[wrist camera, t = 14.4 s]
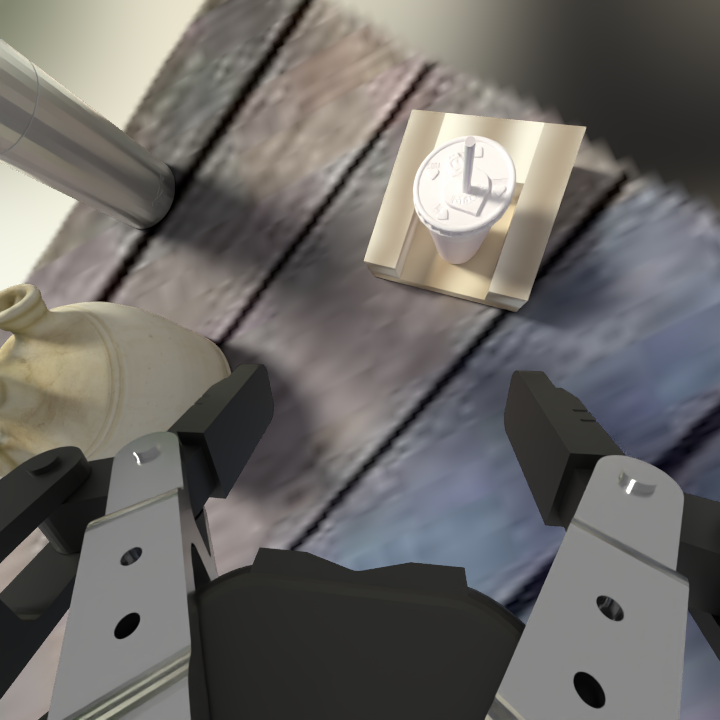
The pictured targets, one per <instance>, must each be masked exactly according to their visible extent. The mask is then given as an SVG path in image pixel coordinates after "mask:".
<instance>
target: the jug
mask: <svg viewBox="0 0 720 720" xmlns="http://www.w3.org/2000/svg"><path fill="white" fill-rule="evenodd" d="M0 329H2V330H5V331H10V332H12V333H13V335H12V336H11V337H10V338H9V339H8V340H7V341H6V342H5V343H4V345H3V346H2V347H1V348H0V476H1V477H4V476H6V475H7V474H8V473H10V472H11V471H12V470H14V469H15V468H16V467H18V466H19V465H21V464H22V463H23V462H25V461H27V460H28V459H30V458H32V457H34V456H36V455H38V454H40V453H43V452H45V451H48V450H51V449H55V448H59V447H65V446H75V447H78V448H80V449H81V451H82V452H83V454H84V456H85V457H86V459H87V461H93V460H99V459H105V458H110V457H115V456H116V454H117V453H118V452H119V451H120V450H121V449H122V448H123V447H124V446H125V445H127V444H128V443H130V442H131V441H133V440H135V439H137V438H139V437H141V436H144V435H147V434H150V433H154V432H162V431H163V432H166V431H167V430H168V429H169V428H170V427H171V426H172V425H173V424H174V423H175V422H176V421H177V420H178V419H179V418H180V417H181V416H182V415H183V414H184V413H185V412H186V411H187V410H188V409H189V408H190V407H191V406H192V405H194V403H195V402H196V401H197V400H198V399H199V398H200V397H202V395H203V394H204V393H205V392H206V391H207V390H208V389H209V388H210V387H211V386H212V385H214V384H215V383H217V382H219V381H221V380H222V379H224V378H228V376H229V375H230V374H231V370H230V367H229V364H228V361H227V359H226V357H225V355H224V354H223V352H222V351H221V349H220V348H219V347H218V346H217V345H216V344H215V343H213V342H212V341H211V340H209V339H207V338H206V337H203V336H202V335H200V334H198V333H196V332H194V331H192V330H189V329H187V328H184V327H182V326H180V325H178V324H176V323H174V322H172V321H170V320H168V319H165V318H163V317H161V316H159V315H156V314H154V313H151V312H148V311H145V310H142V309H139V308H136V307H131V306H126V305H121V304H115V303H108V302H84V303H76V304H70V305H66V306H60V307H56V308H53V309H51V310H48V309H47V307H46V305H45V302H44V301H43V300H42V297H41V292H40V290H39V289H38V288H37V287H36V286H34V285H30V284H20V285H16V286H12V287H9V288H7V289H4V290H2V291H0Z"/></svg>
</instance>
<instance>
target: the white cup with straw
mask: <svg viewBox="0 0 720 720" xmlns="http://www.w3.org/2000/svg"><path fill="white" fill-rule="evenodd" d="M515 185H516V169H515V165H514V162H513V160H512V158H511V156H510V154H509V153H508V152H507V150H506V149H505V148H504V147H503V146H502V145H500V144H499V143H497V142H496V141H494V140H491V139H489V138H486V137H481V136H463V137H458V138H455V139H452V140H449V141H447V142H445V143H443V144H441V145H440V146H438V147H437V148H436V149H434V150H433V151H432V152H431V153H430V154H429V155H428V156H427V157H426V158H425V159H424V161H423V162H422V164H421V165H420V167H419V169H418V171H417V173H416V176H415V180H414V185H413V196H414V198H413V201H414V206H415V210H416V213H417V215H418V217H419V218H420V220H421V222H422V223H423V224H424V225H425V226H426V227H427V228H428V229H429V231H430V234H431V236H432V238H433V241H434V243H435V245H436V247H437V250H438V252H439V254H440V256H441V257H442V259H444V260H445V261H446V262H448V263H451V264H462V263H465V262H467V261H469V260H470V259H472V258H473V257H474V256H475V254H476V253H477V251H478V249H479V248H480V246H481V244H482V242H483V241H484V239H485V237H486V236H487V234H488V232H489V231H490V229H491V227H492V226H493V225H494V224H495V223H496V222H497V221H498V220H499V219H500V218H501V217H502V216H503V215H504V213H505V212H506V210H507V209H508V207H509V206H510V203H511V200H512V197H513V194H514V189H515Z"/></svg>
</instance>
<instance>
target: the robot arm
mask: <svg viewBox="0 0 720 720" xmlns="http://www.w3.org/2000/svg"><path fill="white" fill-rule="evenodd" d="M0 163H2V164H4V165H6V166H8V167H10V168H12V169H14V170H16V171H18V172H20V173H22V174H25V175H27V176H29V177H31V178H33V179H35V180H37V181H39V182H41V183H43V184H46V185H47V186H49V187H51V188H53V189H56V190H58V191H60V192H62V193H64V194H66V195H68V196H70V197H72V198H74V199H76V200H78V201H80V202H82V203H84V204H87V205H89V206H91V207H93V208H95V209H97V210H99V211H101V212H103V213H105V214H107V215H109V216H111V217H113V218H115V219H117V220H119V221H121V222H123V223H125V224H128V225H130V226H132V227H134V228H138V229H145V228H149V227H152V226H154V225H155V224H157V223H158V222H159V221H161V220H162V219H163V217H164V216H165V215H166V214H167V212H168V211H169V209H170V207H171V204H172V202H173V199H174V194H175V181H174V177H173V174H172V172H171V170H170V169H169V167H168V166H167V165H166V164H165V163H163V162H162V161H161V160H160V159H158V158H157V157H156V156H154V155H153V154H152V153H150V152H149V151H148V150H146V149H145V148H144V147H142V146H141V145H140V144H139V143H137V142H136V141H135V140H133V139H132V138H131V137H130V136H128V135H127V134H126V133H124V132H123V131H122V130H120V129H119V128H118V127H116V126H115V125H114V124H112V123H111V122H110V121H109V120H107V119H106V118H104V117H103V116H102V115H101V114H99V113H98V112H97V111H95V110H94V109H93V108H91V107H90V106H89V105H87V104H86V103H85V102H84V101H82V100H81V99H80V98H78V97H77V96H76V95H74V94H73V93H72V92H70V91H69V90H68V89H66V88H65V87H64V86H62V85H61V84H60V83H58V82H57V81H56V80H54V79H53V78H52V77H51V76H49V75H48V74H47V73H45V72H44V71H43V70H42V69H40V68H39V67H38V66H36V65H35V64H34V63H32V62H31V61H30V60H28V59H27V58H25V57H24V56H23V55H21V54H20V53H19V52H18V51H16V50H15V49H14V48H12V47H11V46H10V45H8V44H7V43H6V42H4V41H3V40H2V39H0ZM273 411H274V403H273V398H272V393H271V388H270V383H269V378H268V373H267V369H266V367H265V366H264V365H262V364H240V365H239V366H238V367H237V368H236V369H235V370H234V371H233V372H232V373H231V374H230V375H229V376H228V378H224V379H222V380H221V381H219V382H217V383H215V384H214V385H212V386H211V387H210V388H209V389H208V390H207V391H206V392H205V393H204V394H203V395H202V397H200V398H199V399H198V400H197V401H196V402H195V403H194V405H192V406H191V407H190V408H189V409H188V410H187V411H186V412H185V413H184V414H183V415H182V416H181V417H180V418H179V419H178V420H177V421H176V422H175V423H174V424H173V425H172V426H171V427H170V428H169V429H168V430H167V431H166V432H163V431H162V432H154V433H150V434H147V435H144V436H141V437H139V438H137V439H135V440H133V441H131V442H130V443H128V444H127V445H125V446H124V447H123V448H122V449H121V450H120V451H119V452H118V453H117V454H116V456H115V457H110V458H105V459H99V460H93V461H87V459H86V457H85V456H84V454H83V452H82V451H81V449H80V448H78V447H75V446H65V447H59V448H55V449H51V450H48V451H45V452H43V453H40V454H38V455H36V456H34V457H32V458H30V459H28V460H27V461H25V462H23V463H22V464H21V465H19V466H18V467H16V468H15V469H14V470H12V471H11V472H10V473H8V474H7V475H6V476H4V477H3V478H2V479H0V563H1V562H2V561H3V560H4V559H5V558H6V557H7V556H8V555H9V554H10V553H11V552H12V551H13V550H14V549H15V548H16V547H17V546H18V545H19V544H20V543H21V542H22V541H23V540H25V539H26V538H27V537H28V536H29V535H30V534H31V533H32V532H33V531H34V530H35V529H36V528H37V527H39V529H40V530H41V531H42V533H43V534H44V535H45V536H46V538H47V539H48V540H49V543H48V544H47V545H46V546H45V547H44V548H43V549H42V550H41V551H40V552H39V553H38V554H37V556H36V557H35V558H34V559H33V560H32V561H31V562H30V563H29V564H28V565H27V566H26V567H25V568H24V569H23V570H22V571H21V572H20V573H19V574H18V575H17V577H16V578H15V579H14V580H13V581H12V582H11V583H10V584H9V585H8V586H7V587H6V588H5V589H4V590H3V591H2V592H1V593H0V699H1V698H2V697H3V695H4V694H5V693H6V691H7V690H8V689H9V687H10V686H11V685H12V683H13V682H14V681H15V679H16V678H17V677H18V675H19V674H20V673H21V671H22V670H23V669H24V667H25V666H26V665H27V663H28V662H29V661H30V659H31V658H32V657H33V655H34V654H35V653H36V651H37V650H38V649H39V647H40V646H41V645H42V643H43V642H44V641H45V639H46V638H47V637H48V635H49V634H50V633H51V631H52V630H53V629H54V627H55V626H56V625H57V623H58V622H59V621H60V619H61V618H62V617H63V616H64V614H65V613H66V612H67V610H68V609H69V608H70V609H69V614H68V619H67V624H66V629H65V634H64V639H63V644H62V649H61V654H60V659H59V664H58V669H57V674H56V679H55V684H54V689H53V694H52V699H51V703H50V708H49V711H48V712H47V713H46V714H44V715H43V716H42V717H41V718H40V719H38V720H679V715H680V702H681V689H682V675H683V662H684V649H685V636H686V623H687V610H688V611H689V612H690V614H691V615H692V617H693V619H694V620H695V622H696V623H697V625H698V627H699V628H700V630H701V631H702V633H703V635H704V636H705V638H706V640H707V641H708V643H709V644H710V646H711V648H712V649H713V651H714V652H715V654H716V656H717V657H718V659H719V660H720V502H717V501H713V500H709V499H706V498H702V497H698V496H694V495H691V494H687V493H684V492H682V490H681V488H680V487H679V485H678V484H677V483H676V482H675V481H674V480H673V479H672V478H671V477H670V476H668V475H667V474H666V473H664V472H663V471H661V470H660V469H658V468H656V467H654V466H653V465H651V464H648V463H646V462H644V461H641V460H638V459H635V458H632V457H627V456H626V455H625V454H624V453H623V452H622V451H621V449H620V448H619V447H618V446H617V445H616V443H615V442H614V441H613V440H612V439H611V437H610V436H609V435H608V434H607V433H606V431H605V430H604V429H603V428H602V427H601V425H600V424H599V423H597V422H596V420H595V418H594V417H593V416H592V415H591V414H590V412H587V409H586V408H585V406H584V405H583V404H582V403H581V402H580V400H579V399H578V398H577V397H575V396H573V395H572V394H570V393H569V392H567V391H566V390H564V389H563V388H556V387H555V386H554V385H553V384H552V382H551V381H550V380H549V378H548V377H547V376H546V374H545V373H544V372H542V371H515V372H514V373H513V375H512V379H511V383H510V388H509V393H508V398H507V403H506V408H505V413H504V424H505V430H506V433H507V435H508V438H509V440H510V442H511V445H512V447H513V450H514V452H515V454H516V457H517V459H518V461H519V464H520V466H521V469H522V471H523V473H524V476H525V478H526V480H527V483H528V485H529V488H530V490H531V492H532V495H533V497H534V499H535V502H536V504H537V507H538V509H539V511H540V514H541V516H542V518H543V521H544V523H545V525H549V526H561V527H564V528H565V530H566V534H565V537H564V539H563V541H562V544H561V546H560V548H559V550H558V553H557V555H556V557H555V560H554V562H553V564H552V567H551V569H550V571H549V574H548V576H547V578H546V580H545V583H544V585H543V587H542V590H541V592H540V594H539V597H538V599H537V601H536V604H535V606H534V608H533V611H532V613H531V615H530V617H529V620H528V622H527V624H526V625H525V624H524V623H523V622H522V621H521V620H520V619H519V618H518V617H516V616H515V615H514V614H513V613H511V612H510V611H509V610H508V609H506V608H505V607H504V606H503V605H501V604H499V603H498V602H496V601H495V600H493V599H492V598H490V597H488V596H487V595H485V594H483V593H481V592H479V591H477V590H475V589H472V588H470V587H467V581H466V575H465V568H463V567H452V566H442V565H432V564H422V563H412V562H410V563H405V564H399V565H393V566H387V567H381V568H375V569H369V570H364V571H353V570H350V569H348V568H345V567H343V566H340V565H338V564H335V563H333V562H330V561H328V560H325V559H323V558H320V557H318V556H315V555H313V554H310V553H308V552H300V551H290V550H280V549H270V548H259V550H258V553H257V555H256V558H255V560H254V563H253V565H249V566H245V567H242V568H238V569H235V570H233V571H230V572H228V573H226V574H223V575H221V576H218V572H217V568H216V563H215V557H214V551H213V546H212V540H211V534H210V529H209V523H208V518H207V512H206V509H205V507H204V505H205V503H206V501H207V500H208V498H209V497H213V498H226V497H227V496H228V494H229V492H230V490H231V489H232V487H233V485H234V483H235V482H236V480H237V478H238V477H239V475H240V473H241V471H242V470H243V468H244V466H245V465H246V463H247V461H248V459H249V458H250V456H251V454H252V453H253V451H254V449H255V447H256V446H257V444H258V442H259V441H260V439H261V437H262V435H263V434H264V432H265V430H266V428H267V427H268V425H269V423H270V422H271V420H272V417H273Z"/></svg>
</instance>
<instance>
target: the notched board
mask: <svg viewBox="0 0 720 720" xmlns="http://www.w3.org/2000/svg"><path fill="white" fill-rule="evenodd" d="M585 129H586V127H581V126H571V125H561V124H551V123H541V122H531V121H521V120H511V119H501V118H491V117H481V116H471V115H461V114H451V113H441V112H431V111H421V110H412V112H411V115H410V118H409V122H408V125H407V128H406V131H405V134H404V137H403V140H402V143H401V146H400V149H399V153H398V156H397V159H396V162H395V165H394V168H393V171H392V174H391V177H390V181H389V184H388V187H387V190H386V193H385V196H384V199H383V202H382V205H381V208H380V212H379V215H378V218H377V221H376V224H375V227H374V230H373V233H372V236H371V240H370V243H369V246H368V249H367V252H366V255H365V258H364V262H365V264H366V265H367V266H368V268H369V269H370V271H371V272H372V273H373V275H374V276H375V277H379V278H383V279H387V280H391V281H395V282H399V283H403V284H407V285H411V286H415V287H419V288H422V289H426V290H430V291H434V292H438V293H442V294H446V295H450V296H454V297H458V298H462V299H466V300H470V301H474V302H478V303H482V304H486V305H490V306H493V307H497V308H501V309H505V310H509V311H513V312H517V311H518V310H519V309H520V308H521V307H522V306H523V305H524V304H525V303H526V302H527V301H528V298H529V295H530V292H531V289H532V286H533V283H534V280H535V277H536V274H537V271H538V268H539V265H540V263H541V260H542V257H543V254H544V251H545V248H546V245H547V242H548V239H549V236H550V233H551V230H552V227H553V224H554V221H555V218H556V215H557V212H558V209H559V206H560V203H561V200H562V197H563V194H564V191H565V189H566V186H567V183H568V180H569V177H570V174H571V171H572V168H573V165H574V162H575V159H576V156H577V153H578V150H579V147H580V144H581V141H582V138H583V135H584V132H585ZM463 136H481V137H486V138H489V139H491V140H494V141H496V142H497V143H499V144H500V145H502V146H503V147H504V148H505V149H506V150H507V152H508V153H509V154H510V156H511V158H512V160H513V162H514V165H515V169H516V185H515V189H514V194H513V197H512V200H511V203H510V206H509V207H508V209H507V210H506V212H505V213H504V215H503V216H502V217H501V218H500V219H499V220H498V221H497V222H496V223H495V224H494V225H493V226H492V227H491V229H490V231H489V232H488V234H487V236H486V237H485V239H484V241H483V242H482V244H481V246H480V248H479V249H478V251H477V253H476V254H475V256H474V257H473V258H472V259H470V260H469V261H467V262H465V263H462V264H451V263H448V262H446V261H445V260H444V259H442V257H441V256H440V254H439V252H438V250H437V247H436V245H435V243H434V241H433V238H432V236H431V234H430V231H429V229H428V228H427V227H426V226H425V225H424V224H423V223H422V222H421V220H420V218H419V217H418V215H417V213H416V210H415V206H414V201H413V198H414V196H413V185H414V180H415V176H416V173H417V171H418V169H419V167H420V165H421V164H422V162H423V161H424V159H425V158H426V157H427V156H428V155H429V154H430V153H431V152H432V151H433V150H434V149H436V148H437V147H438V146H440V145H441V144H443V143H445V142H447V141H449V140H452V139H455V138H458V137H463Z"/></svg>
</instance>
